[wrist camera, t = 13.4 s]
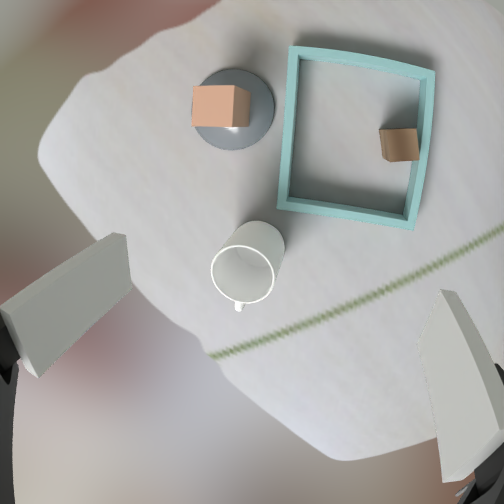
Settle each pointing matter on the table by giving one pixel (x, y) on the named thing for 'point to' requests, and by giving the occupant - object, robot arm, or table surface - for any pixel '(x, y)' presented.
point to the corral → (422, 129)
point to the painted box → (220, 106)
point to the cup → (248, 263)
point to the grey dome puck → (258, 115)
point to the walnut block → (399, 144)
